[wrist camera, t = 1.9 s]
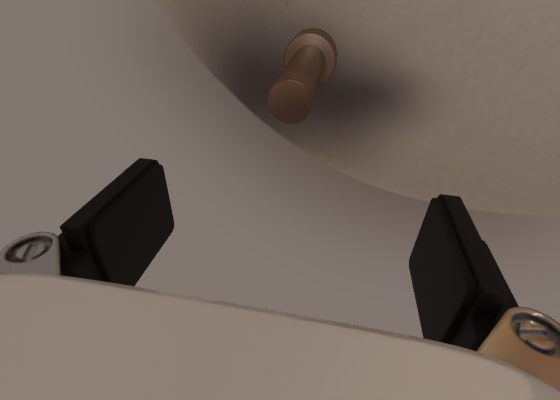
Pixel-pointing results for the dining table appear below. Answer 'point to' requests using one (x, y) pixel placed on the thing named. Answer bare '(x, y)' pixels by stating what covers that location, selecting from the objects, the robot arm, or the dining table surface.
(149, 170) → the robot arm
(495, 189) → the dining table surface
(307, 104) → the brown wooden stamp
